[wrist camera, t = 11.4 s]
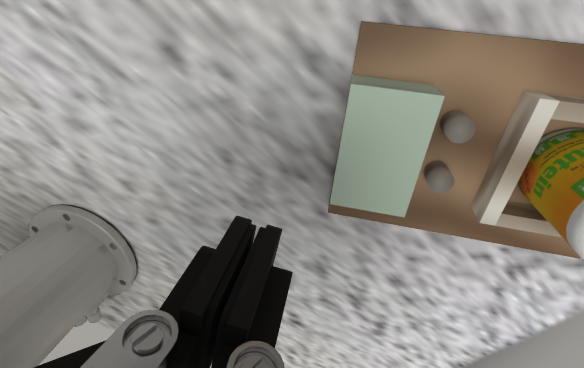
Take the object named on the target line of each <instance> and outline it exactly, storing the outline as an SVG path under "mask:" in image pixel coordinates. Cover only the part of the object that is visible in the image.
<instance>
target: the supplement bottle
mask: <svg viewBox="0 0 584 368" xmlns="http://www.w3.org/2000/svg"><path fill="white" fill-rule="evenodd" d="M517 186H518V188H519V189H520V191H521V192H522V193H523V194H524V196H525V197H526V198H527V199H528V200H529V201H530V202H531V203H532V204H533V206H534V207H535V208H536V209H537V210H538V211H539V212H540V213H541V214H542V216H543V217H544V218H545V219H546V220H547V221H548V222H549V223H550V224H551V225H552V227H553V228H554V229H555V230H556V231H557V232H558V233H559V234H560V236H561V237H562V238H563V239H564V240H565V241H566V242H567V243H568V245H569V246H570V247H571V248H572V249H573V250H574V251H575V252H576V253H577V254H578V255H579V256H580V257H581V258H582V259H583V260H584V129H582V128H571V129H564V130H560V131H556V132H553V133H550V134H548V135H546V136H544V137H542V138H540V140H539V142H538V144H537V146H536V148H535V150H534V152H533V154H532V156H531V158H530V159H529V161H528V163H527V165H526V167H525V169H524V171H523V173H522V175H521V177H520V179H519V181H518V182H517Z"/></svg>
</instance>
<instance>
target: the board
mask: <svg viewBox="0 0 584 368" xmlns="http://www.w3.org/2000/svg"><path fill="white" fill-rule="evenodd" d="M352 75H359V76H367V77H375V78H383V79H391V80H399V81H407V82H415V83H423V84H431V85H434V86H435V87H436V88H437V89H438V90H439V91H440V92H441V93H442V94H443V95H444V96H445V97H444V100H443V103H442V106H441V109H440V112H439V115H438V118H437V121H436V124H435V127H434V130H433V133H432V136H431V139H430V142H429V145H428V148H427V151H426V154H425V157H424V160H423V163H422V166H421V169H420V172H419V175H418V178H417V181H416V184H415V188H414V191H413V194H412V197H411V200H410V203H409V206H408V209H407V212H406V215H405V217H399V216H394V215H388V214H383V213H377V212H371V211H366V210H360V209H355V208H349V207H344V206H338V205H332V204H330V203H329V209H328V213H334V214H339V215H345V216H350V217H356V218H361V219H367V220H372V221H378V222H383V223H389V224H394V225H399V226H405V227H410V228H416V229H421V230H427V231H432V232H438V233H443V234H449V235H454V236H460V237H465V238H470V239H476V240H481V241H487V242H492V243H498V244H503V245H509V246H514V247H520V248H525V249H531V250H536V251H541V252H547V253H552V254H558V255H563V256H569V257H574V258H580V256H579V255H578V254H577V253H576V252H575V251H574V250H573V249H572V248H571V247H570V246H569V245H568V243H567V242H566V241H565V240H564V239H563V238H562V237H561V236H560V234H559V233H558V232H557V231H556V230H555V229H554V228H553V227H552V225H551V224H550V223H549V222H548V221H547V220H546V219H545V218H544V217H543V216H542V214H541V213H540V212H539V211H538V210H537V209H536V208H535V207H534V206H533V204H532V203H531V202H530V201H529V200H528V199H527V198H526V197H525V196H524V194H523V193H522V192H521V191H520V189H519V188H518V186H517V182H518V181H519V179H520V177H521V175H522V173H523V171H524V169H525V167H526V165H527V163H528V161H529V159H530V158H531V156H532V154H533V152H534V150H535V148H536V146H537V144H538V142H539V140H540V138H542V137H544V136H546V135H548V134H550V133H553V132H556V131H560V130H564V129H571V128H582V129H584V44H576V43H566V42H557V41H547V40H537V39H527V38H518V37H508V36H498V35H489V34H479V33H469V32H459V31H450V30H440V29H430V28H420V27H411V26H401V25H391V24H382V23H372V22H361V28H360V33H359V39H358V45H357V50H356V56H355V62H354V67H353V73H352ZM350 85H351V84H350ZM349 91H350V90H349ZM347 102H348V101H347ZM346 108H347V107H346ZM344 119H345V118H344ZM343 125H344V124H343ZM341 136H342V135H341ZM340 142H341V141H340ZM338 153H339V152H338ZM335 170H336V169H335ZM333 181H334V180H333ZM332 187H333V186H332ZM331 193H332V192H331ZM330 199H331V197H330Z"/></svg>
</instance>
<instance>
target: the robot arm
mask: <svg viewBox="0 0 584 368" xmlns="http://www.w3.org/2000/svg"><path fill="white" fill-rule="evenodd" d="M251 223H252V220H250V219H247V218H243V217H240V216H236V217H235V218H234V220H233V222H232V223H231V225H230V227H229V228H228V230H227V232H226V233H225V235H224V237H223V238H222V240H221V242H220V243H219V245H218V247H217V248H216V249H213V248H210V247H207V246H202V247H201V248H200V250H199V251H198V252H197V254H196V255H195V257H194V258H193V260H192V261H191V263H190V264H189V266H188V267H187V269H186V270H185V272H184V273H183V275H182V276H181V278H180V279H179V281H178V282H177V284H176V285H175V287H174V288H173V290H172V291H171V293H170V294H169V296H168V297H167V299H166V300H165V302H164V303H163V305H162V306H161V308H160V309H159V310H147V311H143V312H140V313H137V314H135V315H133V316H131V317H130V318H129V319H128V320H126V321H125V322H124V323H123V324H122V325H121V326H120V327H119V328H118V329H117V330H116V331H115V332H114V333H113V334H112V335H111V336H110V337H109V338H108V340H106V341H103V342H100V343H98V344H95V345H92V346H90V347H87V348H84V349H82V350H79V351H76V352H74V353H71V354H68V355H66V356H63V357H61V358H58V359H55V360H52V361H50V362H47V363H44V364H42V365H39V364H40V363H41V362H42V361H43V359H45V357H46V356H47V355H48V354H49V353H50V352H51V351H52V350H53V349H54V348H55V347H56V345H57V344H58V343H59V342H60V341H61V340H62V339H63V338H64V337H65V336H66V334H67V333H68V332H69V331H70V330H71V329H72V328H73V327H76V326H80V325H82V324H84V323H85V322H86V321H87V319H88V321H89V322H90V323H95V322H98V321H99V320H100V319H101V317H102V316H101V312H100V309H99V308H98V306H99V305H100V304H101V302H102V301H103V300H104V299H105V298H106V297H107V296H112V295H117V294H120V293H122V292H124V291H125V290H126V289H127V288H128V287H129V286H130V285H131V283H132V282H133V281H134V279H135V276H136V262H135V258H134V255H133V253H132V251H131V249H130V247H129V246H128V244H127V243H126V241H125V240H124V239H123V238H122V236H121V235H120V234H119V233H118V232H117V231H116V230H115V229H114V228H113V227H111V226H110V225H109V224H108V223H106V222H105V221H104V220H102V219H101V218H99V217H97V216H95V215H94V214H92V213H90V212H87V211H85V210H82V209H80V208H76V207H72V206H65V205H57V206H51V207H48V208H46V209H44V210H42V211H41V212H39V213H38V214H36V215H35V216H34V217H33V218H32V220H31V222H30V224H29V238H27V239H26V240H24V241H23V242H22V243H20V244H19V245H17V246H16V247H14V248H13V249H11V250H10V251H8V252H7V253H5V254H4V255H2V256H1V257H0V368H210V366H211V363H212V367H211V368H284V363H283V360H282V358H281V355H280V354H279V353H278V352H277V350H276V349H275V345H276V341H277V337H278V332H279V328H280V324H281V320H282V315H283V311H284V307H285V303H286V298H287V294H288V290H289V286H290V282H291V277H292V272H291V271H287V270H284V269H281V268H277V267H274V266H273V263H274V259H275V255H276V251H277V248H278V244H279V240H280V236H281V232H282V229H281V228H277V227H274V226H271V225H267V227H266V228H263V227H260V229H259V231H258V233H257V235H256V238H255V240H254V235H255V230H256V225H252V224H251ZM253 240H254V242H253ZM38 365H39V366H38Z"/></svg>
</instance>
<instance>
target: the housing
mask: <svg viewBox="0 0 584 368" xmlns="http://www.w3.org/2000/svg"><path fill="white" fill-rule="evenodd" d="M444 97H445V96H444V95H443V94H442V93H441V92H440V91H439V90H438V89H437V88H436V87H435V86H434V85H431V84H423V83H415V82H407V81H399V80H391V79H383V78H375V77H367V76H359V75H352V79H351V85H350V91H349V96H348V102H347V108H346V113H345V119H344V125H343V130H342V136H341V142H340V147H339V153H338V158H337V164H336V170H335V175H334V181H333V187H332V193H331V199H330V204H332V205H338V206H344V207H349V208H355V209H360V210H366V211H371V212H377V213H383V214H388V215H394V216H399V217H405V215H406V212H407V209H408V206H409V203H410V200H411V197H412V194H413V191H414V188H415V184H416V181H417V178H418V175H419V172H420V169H421V166H422V163H423V160H424V157H425V154H426V151H427V148H428V145H429V142H430V139H431V136H432V133H433V130H434V127H435V124H436V121H437V118H438V115H439V112H440V109H441V106H442V103H443V100H444Z"/></svg>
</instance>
